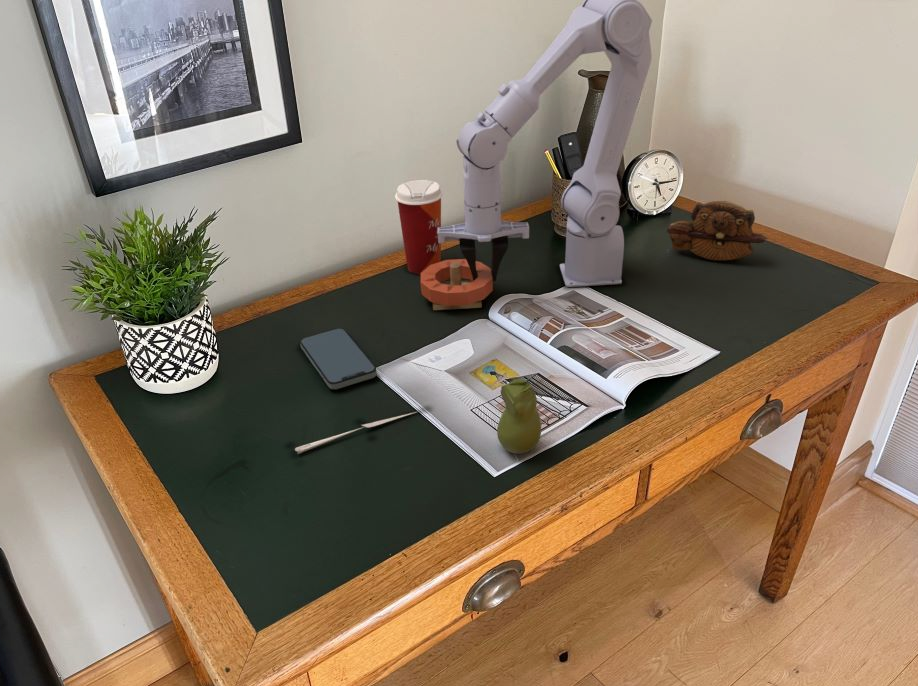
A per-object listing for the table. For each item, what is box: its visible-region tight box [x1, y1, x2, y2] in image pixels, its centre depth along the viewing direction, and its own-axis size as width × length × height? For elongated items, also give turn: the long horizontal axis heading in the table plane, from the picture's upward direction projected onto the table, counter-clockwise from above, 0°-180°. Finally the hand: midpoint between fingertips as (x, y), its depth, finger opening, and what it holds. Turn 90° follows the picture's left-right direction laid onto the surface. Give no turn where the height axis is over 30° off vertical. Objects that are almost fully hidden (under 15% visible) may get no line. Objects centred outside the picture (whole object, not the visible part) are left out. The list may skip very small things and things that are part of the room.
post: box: [432, 263, 483, 311], centre depth 131 cm, size 8×8×6 cm
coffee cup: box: [394, 179, 444, 275], centre depth 138 cm, size 8×8×15 cm
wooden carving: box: [666, 200, 768, 262], centre depth 136 cm, size 16×5×10 cm, turn 68°
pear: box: [496, 378, 542, 455], centre depth 97 cm, size 6×5×10 cm
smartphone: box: [299, 328, 378, 390], centre depth 118 cm, size 8×2×15 cm
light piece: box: [294, 411, 419, 455], centre depth 104 cm, size 4×1×19 cm
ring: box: [420, 258, 494, 306], centre depth 131 cm, size 12×12×2 cm
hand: (484, 278), depth 130 cm, fingers closed on ring, 2 cm apart
